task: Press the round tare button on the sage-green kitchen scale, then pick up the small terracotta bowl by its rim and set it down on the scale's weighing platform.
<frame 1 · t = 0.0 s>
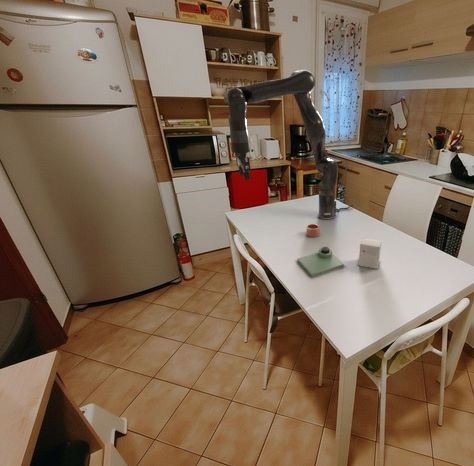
hand: (244, 177, 121), 29 cm above the table, tool pointing down, fingers open, 8 cm apart
tare button: (325, 250, 114), point 4 cm above the table, slide at 0.1 cm
bowl: (312, 234, 135), on the table
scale: (320, 263, 111), on the table
small box: (368, 264, 111), on the table
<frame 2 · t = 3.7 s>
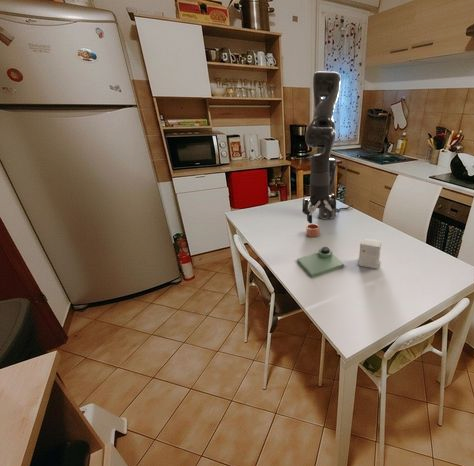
hand: (319, 220, 108), 17 cm above the table, tool pointing down, fingers open, 8 cm apart
nothing on the table moved.
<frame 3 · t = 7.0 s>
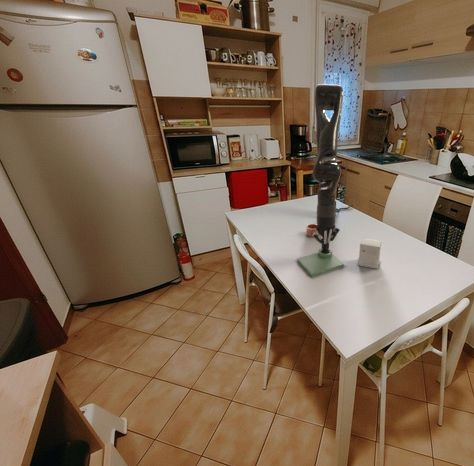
hand: (325, 249, 114), 4 cm above the table, tool pointing down, fingers closed
tare button: (325, 251, 114), point 3 cm above the table, slide at -0.5 cm, touching gripper
everything else where it was.
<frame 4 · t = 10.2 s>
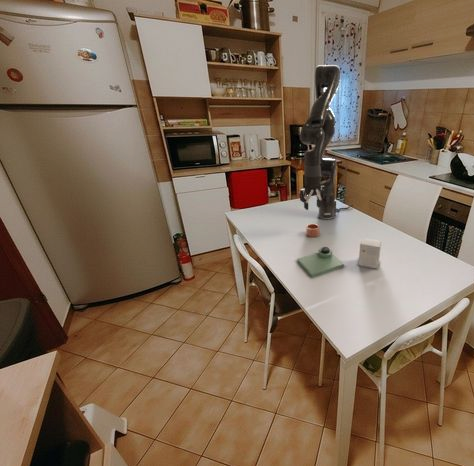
hand: (312, 208, 128), 15 cm above the table, tool pointing down, fingers open, 6 cm apart
tare button: (325, 250, 114), point 4 cm above the table, slide at 0.1 cm
everything else where it was.
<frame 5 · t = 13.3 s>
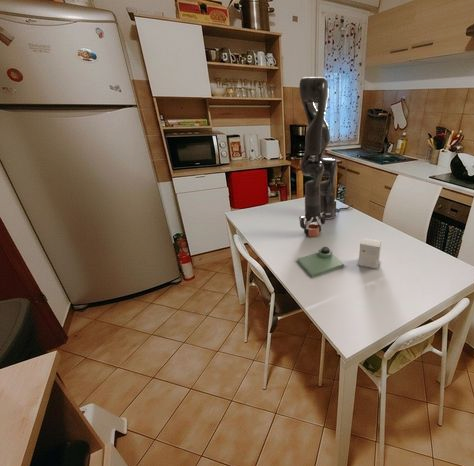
hand: (312, 233, 134), 1 cm above the table, tool pointing down, fingers closed on bowl, 6 cm apart
bowl: (312, 234, 135), on the table, touching gripper
everything else where it was.
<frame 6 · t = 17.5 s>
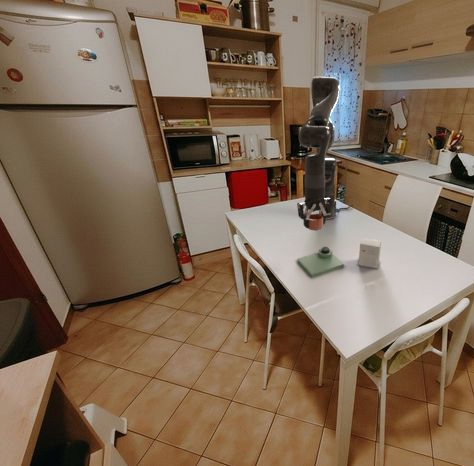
hand: (314, 225, 103), 18 cm above the table, tool pointing down, fingers closed on bowl, 6 cm apart
bowl: (314, 227, 104), point 17 cm above the table, touching gripper
everything else where it was.
when the fingers open (2 cm above the table, at t = 22.0 s): bowl stays where it is, resting on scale.
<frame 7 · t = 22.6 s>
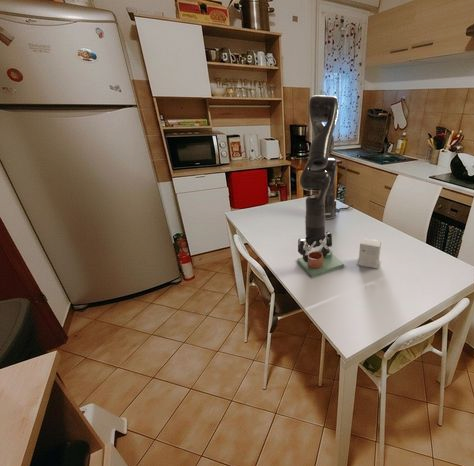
hand: (315, 258, 107), 4 cm above the table, tool pointing down, fingers open, 8 cm apart
bowl: (315, 264, 108), point 1 cm above the table, touching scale
everything else where it was.
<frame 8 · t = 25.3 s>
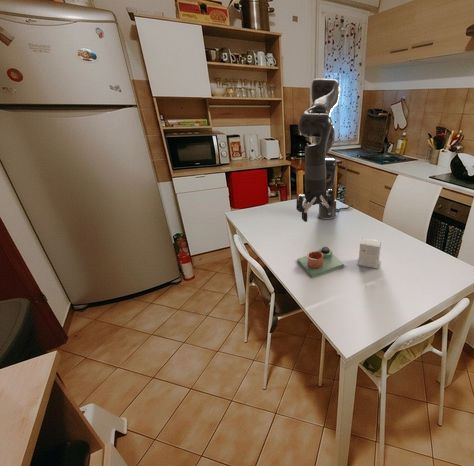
hand: (315, 218, 99), 22 cm above the table, tool pointing down, fingers open, 8 cm apart
nothing on the table moved.
at the end: tare button pushed in 0.9 cm at the most during the clip, back to where it started at the end; bowl inside the target area on the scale (0.5 cm from its centre), point 1.4 cm above the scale's base; bowl touching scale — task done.
